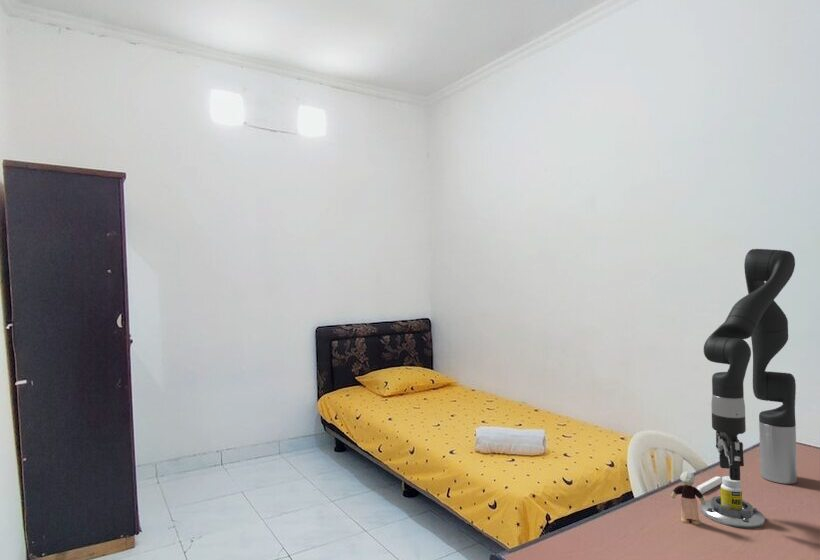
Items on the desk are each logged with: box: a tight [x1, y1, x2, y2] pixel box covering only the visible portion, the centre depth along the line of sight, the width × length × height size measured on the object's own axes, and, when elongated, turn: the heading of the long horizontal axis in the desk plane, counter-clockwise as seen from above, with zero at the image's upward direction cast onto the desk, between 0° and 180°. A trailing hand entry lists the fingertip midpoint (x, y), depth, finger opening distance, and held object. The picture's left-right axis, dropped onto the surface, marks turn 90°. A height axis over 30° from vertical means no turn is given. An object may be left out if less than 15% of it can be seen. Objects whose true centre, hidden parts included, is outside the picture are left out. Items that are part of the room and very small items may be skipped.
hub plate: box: [700, 495, 765, 529], centre depth 130 cm, size 14×14×3 cm
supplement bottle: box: [720, 475, 743, 509], centre depth 130 cm, size 5×5×8 cm
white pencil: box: [695, 475, 723, 495], centre depth 147 cm, size 3×2×16 cm
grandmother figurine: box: [670, 470, 706, 525], centre depth 127 cm, size 8×4×13 cm, turn 71°
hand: (729, 473), depth 130 cm, fingers open, 8 cm apart
